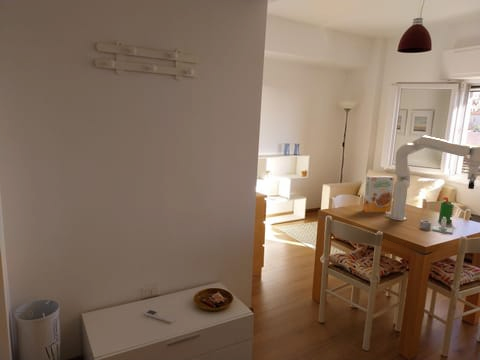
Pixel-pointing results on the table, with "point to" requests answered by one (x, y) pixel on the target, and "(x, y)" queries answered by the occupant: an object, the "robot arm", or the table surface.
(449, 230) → the shaft block
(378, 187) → the cereal box
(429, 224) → the hub
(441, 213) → the green toy figure
